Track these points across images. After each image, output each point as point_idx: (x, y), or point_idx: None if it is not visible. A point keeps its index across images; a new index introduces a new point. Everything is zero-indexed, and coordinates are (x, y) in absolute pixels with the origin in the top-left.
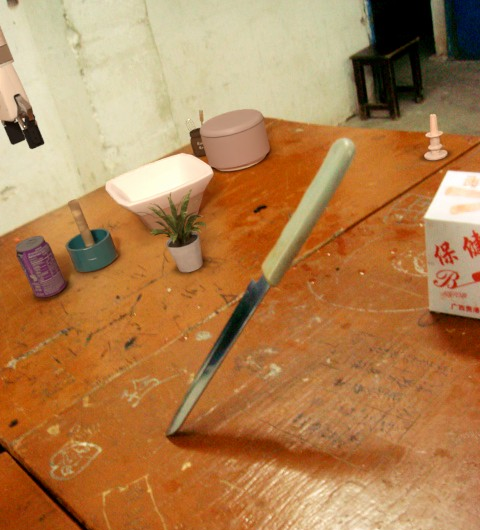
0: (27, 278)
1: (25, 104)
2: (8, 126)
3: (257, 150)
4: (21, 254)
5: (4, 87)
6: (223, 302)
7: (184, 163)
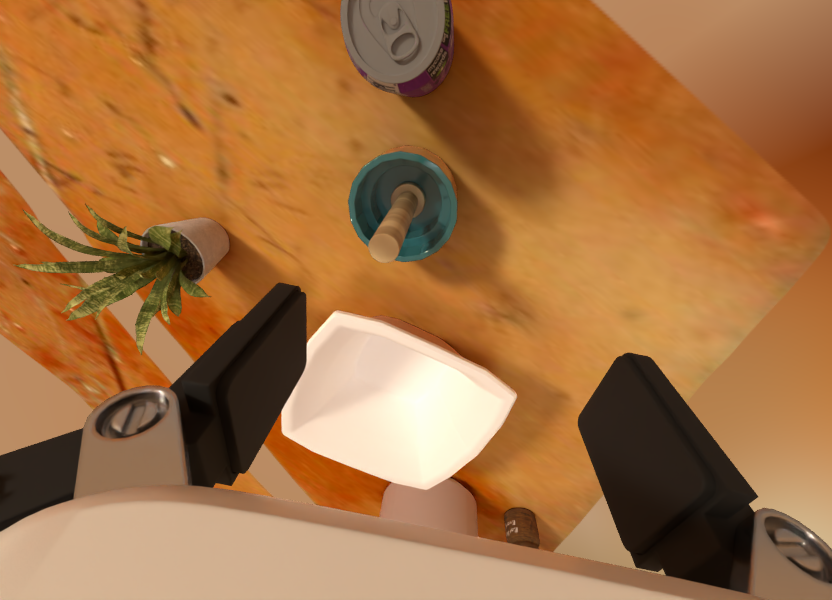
0: None
1: None
2: (687, 500)
3: (381, 506)
4: None
5: None
6: (52, 161)
7: (404, 465)
